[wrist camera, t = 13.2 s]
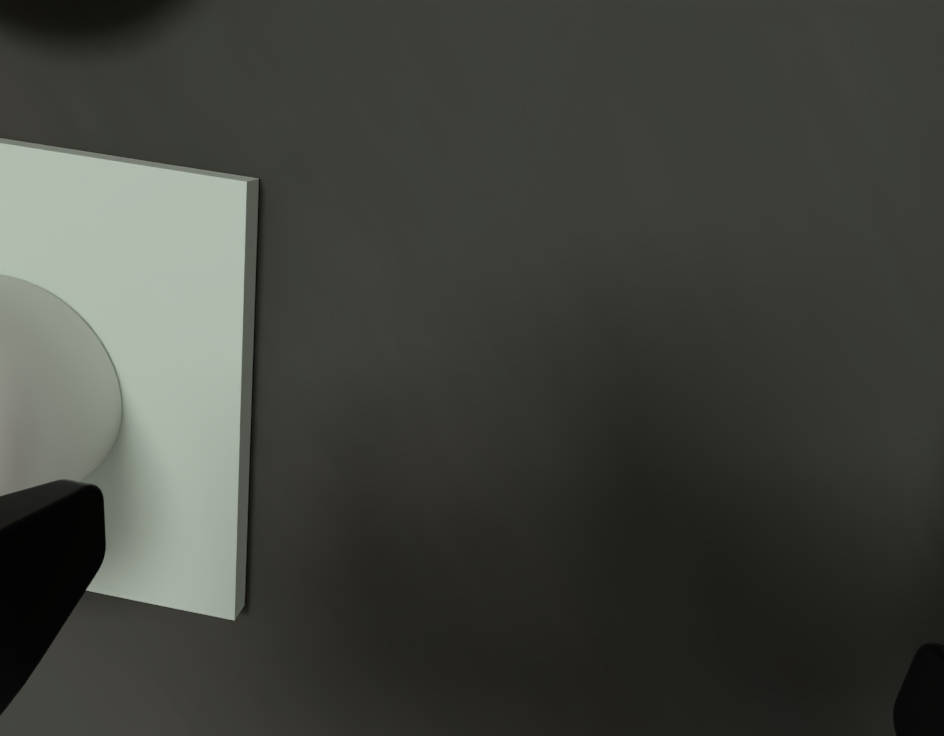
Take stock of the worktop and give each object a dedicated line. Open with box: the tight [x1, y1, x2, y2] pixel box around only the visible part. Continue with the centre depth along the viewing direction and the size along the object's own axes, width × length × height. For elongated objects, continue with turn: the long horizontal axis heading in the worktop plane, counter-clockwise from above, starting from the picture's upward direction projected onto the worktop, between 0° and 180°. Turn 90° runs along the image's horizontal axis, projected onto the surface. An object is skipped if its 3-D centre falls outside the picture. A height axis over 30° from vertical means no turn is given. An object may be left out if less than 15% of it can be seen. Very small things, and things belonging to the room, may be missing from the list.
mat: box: [0, 138, 259, 621], centre depth 23 cm, size 14×14×1 cm
